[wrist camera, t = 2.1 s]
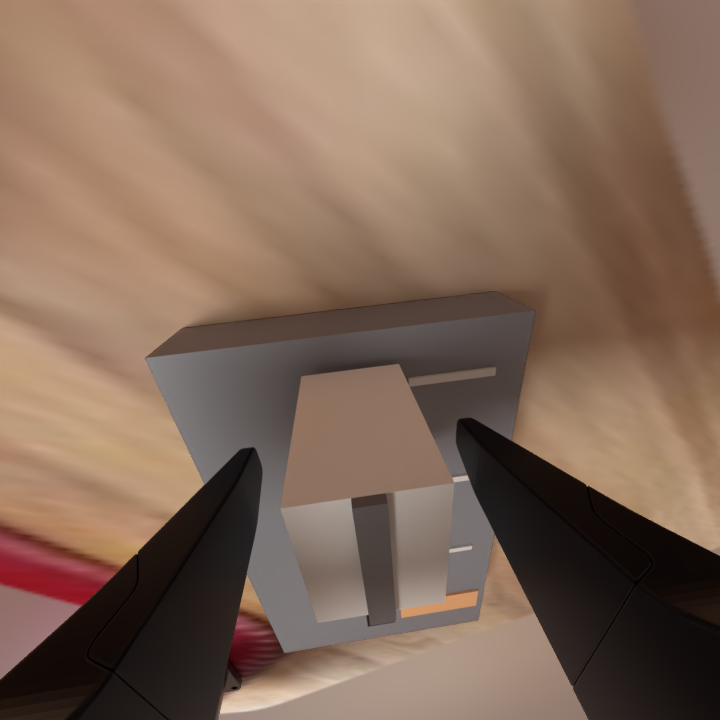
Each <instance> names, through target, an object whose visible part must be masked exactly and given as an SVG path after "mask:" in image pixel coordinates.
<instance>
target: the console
mask: <svg viewBox="0 0 720 720" xmlns="http://www.w3.org/2000/svg"><path fill="white" fill-rule="evenodd" d="M534 316H535V310H533V309H531V308H529V307H527V306H525V305H523V304H521V303H519V302H517V301H515V300H512V299H510V298H508V297H506V296H504V295H502V294H500V293H498V292H496V291H495V292H486V293H478V294H469V295H461V296H452V297H444V298H435V299H427V300H419V301H410V302H402V303H393V304H385V305H376V306H368V307H359V308H351V309H342V310H334V311H325V312H317V313H308V314H300V315H291V316H283V317H274V318H266V319H257V320H249V321H241V322H232V323H224V324H215V325H207V326H198V327H190V328H182V329H180V330H179V331H178V332H177V333H175V334H174V335H173V336H172V337H170V338H169V339H168V340H167V341H165V342H164V343H163V344H162V345H160V346H159V347H158V348H157V349H155V350H154V351H153V352H152V353H150V354H149V355H148V356H147V357H145V360H146V362H147V364H148V366H149V368H150V370H151V373H152V375H153V377H154V379H155V381H156V383H157V385H158V387H159V389H160V392H161V394H162V396H163V398H164V400H165V402H166V404H167V406H168V408H169V411H170V413H171V415H172V417H173V419H174V421H175V423H176V425H177V427H178V430H179V432H180V434H181V436H182V438H183V440H184V442H185V444H186V446H187V449H188V451H189V453H190V455H191V457H192V459H193V461H194V463H195V465H196V468H197V470H198V472H199V474H200V476H201V478H202V480H203V482H204V484H206V483H207V482H208V481H209V480H210V479H211V478H212V477H213V476H214V475H215V474H216V473H217V472H218V471H219V470H220V469H221V468H222V467H223V466H224V465H225V464H226V463H227V462H228V461H229V460H230V459H231V458H232V457H233V456H234V455H235V454H236V453H237V452H238V451H239V450H240V449H242V448H248V447H254V448H256V450H257V453H258V456H259V459H260V462H261V465H262V469H263V476H262V486H261V495H260V505H259V514H258V523H257V529H256V534H255V538H254V543H253V548H252V552H251V557H250V561H249V566H248V571H247V575H248V577H249V579H250V581H251V584H252V586H253V588H254V590H255V592H256V594H257V596H258V598H259V600H260V603H261V605H262V607H263V609H264V611H265V613H266V615H267V617H268V619H269V622H270V624H271V626H272V628H273V630H274V632H275V634H276V636H277V638H278V641H279V643H280V645H281V647H282V649H283V651H284V653H288V652H294V651H300V650H306V649H312V648H317V647H323V646H329V645H335V644H341V643H347V642H353V641H359V640H365V639H371V638H377V637H383V636H389V635H394V634H400V633H406V632H412V631H418V630H424V629H430V628H436V627H442V626H448V625H454V624H460V623H466V622H471V621H477V620H478V619H479V613H480V608H481V602H482V597H483V592H484V586H485V581H486V575H487V570H488V565H489V559H490V554H491V548H492V543H493V538H494V531H493V529H492V527H491V525H490V523H489V521H488V519H487V517H486V515H485V513H484V511H483V509H482V507H481V505H480V504H479V502H478V500H477V497H476V495H475V493H474V491H473V488H472V486H471V483H470V481H469V478H468V475H467V473H466V470H465V467H464V465H463V462H462V459H461V457H460V454H459V451H458V449H457V446H456V427H457V421H458V419H460V418H468V417H471V418H474V419H475V420H477V421H479V422H480V423H482V424H484V425H485V426H487V427H489V428H491V429H492V430H494V431H496V432H497V433H499V434H501V435H503V436H504V437H506V438H508V439H509V440H512V435H513V430H514V424H515V419H516V413H517V408H518V403H519V397H520V392H521V386H522V381H523V376H524V370H525V365H526V359H527V354H528V349H529V343H530V338H531V332H532V327H533V322H534ZM394 364H399V365H400V367H401V369H402V372H403V374H404V376H405V378H406V380H407V382H408V384H409V387H410V389H411V391H412V393H413V395H414V397H415V400H416V402H417V404H418V406H419V408H420V410H421V412H422V415H423V417H424V419H425V421H426V423H427V425H428V427H429V430H430V432H431V434H432V436H433V438H434V440H435V442H436V445H437V447H438V449H439V451H440V453H441V455H442V458H443V460H444V462H445V464H446V466H447V468H448V470H449V473H450V475H451V477H452V479H453V481H454V494H453V507H452V520H451V533H450V546H449V559H448V572H447V585H446V598H445V602H443V603H437V604H431V605H425V606H419V607H413V608H407V609H401V610H396V621H394V622H388V623H382V624H376V625H370V621H369V615H365V616H358V617H352V618H346V619H340V620H334V621H328V622H322V623H317V620H316V617H315V614H314V611H313V608H312V605H311V602H310V599H309V596H308V593H307V590H306V587H305V583H304V580H303V577H302V574H301V571H300V568H299V565H298V562H297V559H296V556H295V553H294V550H293V546H292V543H291V540H290V537H289V534H288V531H287V528H286V525H285V522H284V519H283V516H282V512H281V509H280V507H281V501H282V495H283V488H284V482H285V476H286V470H287V463H288V457H289V451H290V445H291V438H292V432H293V426H294V420H295V413H296V407H297V401H298V394H299V388H300V382H301V376H307V375H315V374H323V373H331V372H339V371H346V370H354V369H362V368H370V367H378V366H386V365H394Z"/></svg>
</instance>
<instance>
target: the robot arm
mask: <svg viewBox="0 0 720 720" xmlns="http://www.w3.org/2000/svg"><path fill="white" fill-rule="evenodd" d="M456 446H457V449H458V451H459V454H460V457H461V459H462V462H463V465H464V467H465V470H466V473H467V475H468V478H469V481H470V483H471V486H472V488H473V491H474V493H475V495H476V497H477V500H478V502H479V504H480V505H481V507H482V509H483V511H484V513H485V515H486V517H487V519H488V521H489V523H490V525H491V527H492V529H493V531H494V533H495V535H496V537H497V539H498V541H499V543H500V545H501V547H502V549H503V551H504V553H505V555H506V557H507V559H508V561H509V563H510V565H511V567H512V569H513V571H514V573H515V575H516V577H517V579H518V581H519V583H520V585H521V587H522V589H523V591H524V593H525V595H526V597H527V598H528V600H529V602H530V604H531V606H532V608H533V610H534V612H535V614H536V616H537V618H538V620H539V622H540V624H541V626H542V628H543V630H544V632H545V634H546V636H547V638H548V640H549V642H550V644H551V646H552V648H553V650H554V652H555V654H556V656H557V658H558V660H559V662H560V664H561V666H562V668H563V670H564V672H565V673H566V676H567V677H568V680H569V682H570V684H571V685H572V686H573V690H574V692H575V694H576V696H577V698H578V700H579V702H580V703H581V706H582V708H583V710H584V712H585V714H586V716H587V718H588V720H720V556H719V555H717V554H715V553H713V552H711V551H709V550H707V549H705V548H703V547H701V546H699V545H697V544H695V543H693V542H691V541H690V540H688V539H686V538H684V537H682V536H680V535H678V534H676V533H674V532H672V531H670V530H668V529H666V528H664V527H662V526H660V525H658V524H656V523H654V522H653V521H651V520H649V519H647V518H645V517H643V516H641V515H639V514H637V513H635V512H634V511H632V510H630V509H628V508H626V507H625V506H623V505H621V504H619V503H617V502H616V501H614V500H612V499H610V498H609V497H607V496H605V495H603V494H602V493H600V492H598V491H597V490H595V489H593V488H591V487H590V486H586V484H584V483H583V482H581V481H579V480H578V479H576V478H574V477H572V476H571V475H569V474H567V473H566V472H564V471H562V470H561V469H559V468H557V467H555V466H554V465H552V464H550V463H549V462H547V461H545V460H543V459H542V458H540V457H538V456H537V455H535V454H533V453H532V452H530V451H528V450H526V449H525V448H523V447H521V446H520V445H518V444H516V443H514V442H513V441H511V440H509V439H508V438H506V437H504V436H503V435H501V434H499V433H497V432H496V431H494V430H492V429H491V428H489V427H487V426H485V425H484V424H482V423H480V422H479V421H477V420H475V419H474V418H471V417H468V418H460V419H458V421H457V427H456ZM262 476H263V469H262V465H261V462H260V459H259V456H258V453H257V450H256V448H254V447H248V448H242V449H240V450H239V451H238V452H237V453H236V454H235V455H234V456H233V457H232V458H231V459H230V460H229V461H228V462H227V463H226V464H225V465H224V466H223V467H222V468H221V469H220V470H219V471H218V472H217V473H216V474H215V475H214V476H213V477H212V478H211V479H210V480H209V481H208V482H207V483H206V484H205V485H204V486H203V487H202V488H201V489H200V490H199V491H198V492H197V493H196V494H195V495H194V496H193V497H192V498H191V499H190V500H189V501H188V502H187V503H186V504H185V505H184V506H183V507H182V508H181V509H180V510H179V511H178V512H177V513H176V514H175V515H174V516H173V517H172V518H171V519H170V520H169V521H168V522H167V523H166V524H165V525H164V526H163V527H162V528H161V529H160V530H159V531H158V532H157V533H156V534H155V535H154V536H153V537H152V538H151V539H150V540H149V541H148V542H147V543H146V544H145V545H144V546H143V547H142V548H141V549H140V550H139V551H138V554H135V555H134V556H133V557H132V558H131V559H130V560H129V561H128V562H127V563H126V564H125V565H124V566H123V567H122V568H121V569H120V570H119V571H118V572H117V573H116V574H115V575H114V576H113V577H112V578H111V579H110V580H109V581H108V582H107V583H106V584H105V585H104V586H103V587H102V588H101V589H100V590H98V591H97V592H96V593H95V594H94V595H93V596H92V597H91V598H90V599H89V600H88V601H87V602H86V603H85V604H83V605H82V606H81V607H80V608H79V609H78V610H77V611H76V612H75V613H74V614H73V615H72V616H70V617H69V619H67V620H66V621H65V622H64V623H63V624H62V625H61V626H59V627H58V628H57V629H56V630H55V631H54V632H53V633H52V634H51V635H50V636H48V637H47V638H46V639H45V640H44V641H43V642H42V643H41V644H40V645H38V646H37V647H36V648H35V649H34V650H33V651H32V652H30V653H29V654H28V655H27V656H26V657H25V658H24V659H23V660H22V661H20V662H19V663H18V664H17V665H16V666H15V667H14V668H13V669H12V670H11V671H9V672H8V673H7V674H6V675H5V676H4V677H3V678H2V679H0V720H218V719H219V714H220V709H221V705H222V700H223V695H224V692H230V691H236V690H239V689H240V688H241V685H242V679H241V678H240V676H239V675H238V673H237V672H236V671H235V669H234V668H233V666H232V665H231V663H230V662H229V660H228V658H229V654H230V649H231V644H232V640H233V635H234V630H235V626H236V621H237V617H238V612H239V607H240V603H241V598H242V594H243V589H244V584H245V580H246V575H247V571H248V566H249V561H250V557H251V552H252V548H253V543H254V538H255V534H256V529H257V523H258V514H259V505H260V495H261V486H262Z"/></svg>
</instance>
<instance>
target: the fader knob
mask: <svg viewBox="0 0 720 720" xmlns="http://www.w3.org/2000/svg"><path fill="white" fill-rule="evenodd" d="M453 494H454V481H453V479H452V477H451V475H450V473H449V470H448V468H447V466H446V464H445V462H444V460H443V458H442V455H441V453H440V451H439V449H438V447H437V445H436V442H435V440H434V438H433V436H432V434H431V432H430V430H429V427H428V425H427V423H426V421H425V419H424V417H423V415H422V412H421V410H420V408H419V406H418V404H417V402H416V400H415V397H414V395H413V393H412V391H411V389H410V387H409V384H408V382H407V380H406V378H405V376H404V374H403V372H402V369H401V367H400V365H399V364H394V365H386V366H378V367H370V368H362V369H354V370H346V371H339V372H331V373H323V374H315V375H307V376H301V382H300V388H299V394H298V401H297V407H296V413H295V420H294V426H293V432H292V438H291V445H290V451H289V457H288V463H287V470H286V476H285V482H284V488H283V495H282V501H281V507H280V509H281V512H282V516H283V519H284V522H285V525H286V528H287V531H288V534H289V537H290V540H291V543H292V546H293V550H294V553H295V556H296V559H297V562H298V565H299V568H300V571H301V574H302V577H303V580H304V583H305V587H306V590H307V593H308V596H309V599H310V602H311V605H312V608H313V611H314V614H315V617H316V620H317V623H322V622H328V621H334V620H340V619H346V618H352V617H358V616H365V615H369V621H370V625H376V624H382V623H388V622H394V621H396V610H401V609H407V608H413V607H419V606H425V605H431V604H437V603H443V602H445V598H446V585H447V572H448V559H449V546H450V533H451V520H452V507H453Z"/></svg>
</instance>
